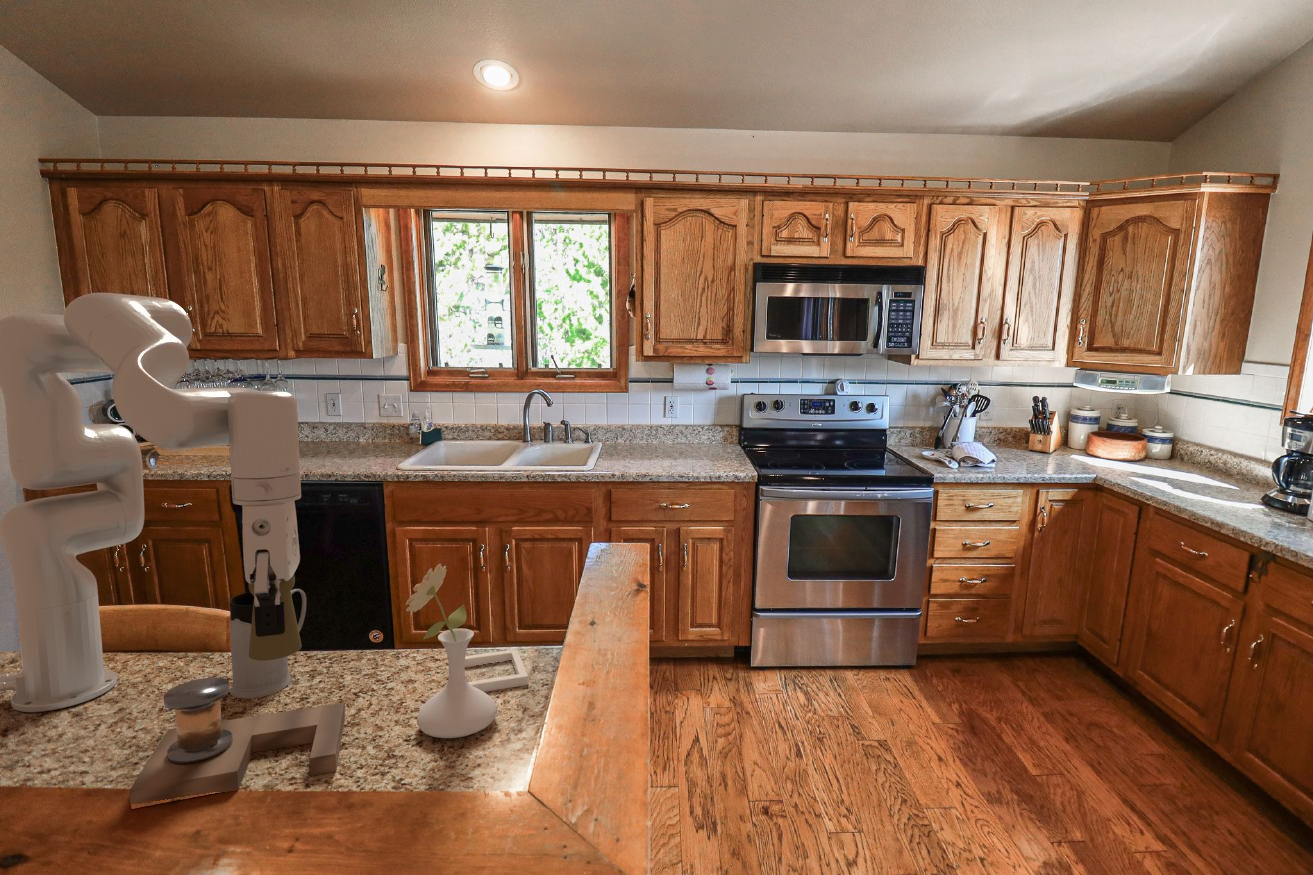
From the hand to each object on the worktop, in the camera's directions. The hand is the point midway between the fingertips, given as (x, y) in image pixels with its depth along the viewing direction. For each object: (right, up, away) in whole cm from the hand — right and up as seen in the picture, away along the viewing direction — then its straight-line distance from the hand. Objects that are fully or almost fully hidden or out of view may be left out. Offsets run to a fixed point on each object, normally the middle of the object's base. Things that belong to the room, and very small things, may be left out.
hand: (274, 626), depth 86 cm
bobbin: (-10, -16, +1) cm, 19 cm away
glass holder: (-15, -16, +26) cm, 34 cm away
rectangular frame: (+21, -16, +28) cm, 38 cm away
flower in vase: (+20, -18, +11) cm, 29 cm away
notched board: (-5, -19, +3) cm, 19 cm away
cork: (0, -3, 0) cm, 3 cm away
